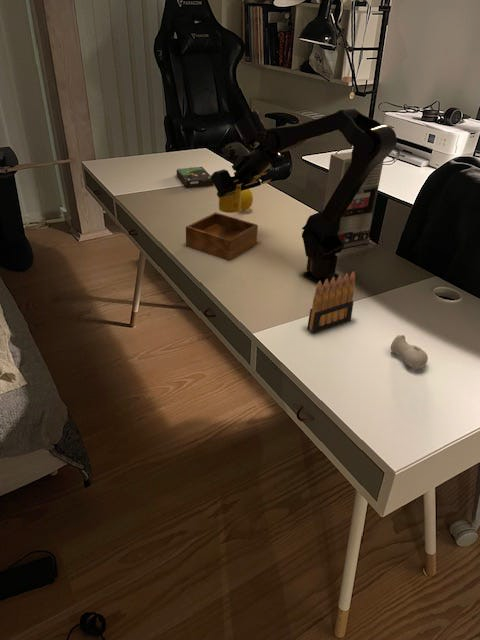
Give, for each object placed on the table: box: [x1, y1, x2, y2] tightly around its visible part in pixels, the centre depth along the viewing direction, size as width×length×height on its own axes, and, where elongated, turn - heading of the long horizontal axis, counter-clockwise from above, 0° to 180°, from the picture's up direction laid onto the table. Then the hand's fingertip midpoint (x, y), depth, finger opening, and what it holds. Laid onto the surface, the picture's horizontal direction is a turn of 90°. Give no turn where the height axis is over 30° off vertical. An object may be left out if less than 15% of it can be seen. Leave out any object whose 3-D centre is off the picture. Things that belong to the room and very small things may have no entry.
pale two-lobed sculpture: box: [390, 334, 429, 370], centre depth 98 cm, size 4×8×5 cm
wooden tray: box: [185, 212, 259, 261], centre depth 139 cm, size 15×14×6 cm
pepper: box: [218, 185, 241, 214], centre depth 138 cm, size 6×6×9 cm
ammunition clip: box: [306, 270, 356, 334], centre depth 105 cm, size 11×2×12 cm, turn 121°
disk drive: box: [175, 166, 215, 188], centre depth 185 cm, size 10×3×15 cm
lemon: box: [240, 188, 254, 212], centre depth 160 cm, size 6×6×8 cm
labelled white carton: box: [322, 151, 385, 249], centre depth 137 cm, size 14×6×25 cm, turn 117°
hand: (226, 193), depth 139 cm, fingers closed on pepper, 6 cm apart
